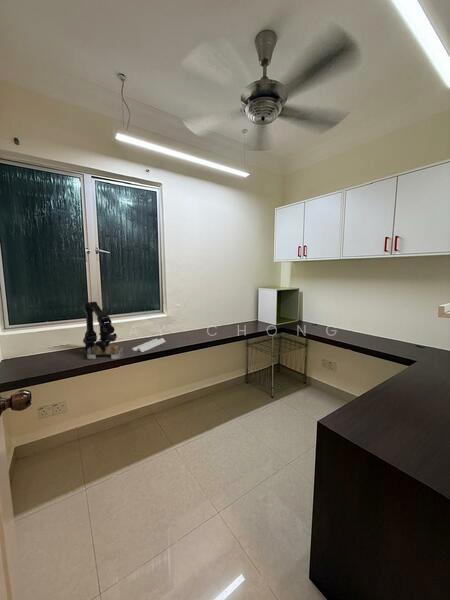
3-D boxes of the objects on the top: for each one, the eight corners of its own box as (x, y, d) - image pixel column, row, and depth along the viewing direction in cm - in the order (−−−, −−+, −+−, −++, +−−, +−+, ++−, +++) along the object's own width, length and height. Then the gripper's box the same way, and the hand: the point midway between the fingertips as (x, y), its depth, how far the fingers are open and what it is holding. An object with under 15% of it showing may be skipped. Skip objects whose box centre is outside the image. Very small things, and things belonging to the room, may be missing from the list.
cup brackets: (86, 358, 184) (85, 349, 184) (91, 354, 193) (91, 346, 192) (120, 358, 185) (119, 349, 184) (124, 354, 194) (123, 346, 193)
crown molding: (155, 340, 233) (155, 337, 232) (166, 342, 228) (166, 338, 227) (131, 350, 204) (131, 346, 204) (142, 353, 199) (142, 348, 199)
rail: (92, 353, 187) (92, 347, 186) (95, 351, 191) (94, 345, 190) (116, 353, 187) (115, 347, 186) (118, 352, 191) (118, 345, 190)
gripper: (109, 334, 177) (110, 355, 180) (119, 328, 196) (120, 347, 198) (93, 334, 177) (95, 355, 179) (105, 328, 196) (106, 347, 198)
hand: (105, 351), depth 189 cm, fingers closed on rail, 4 cm apart
